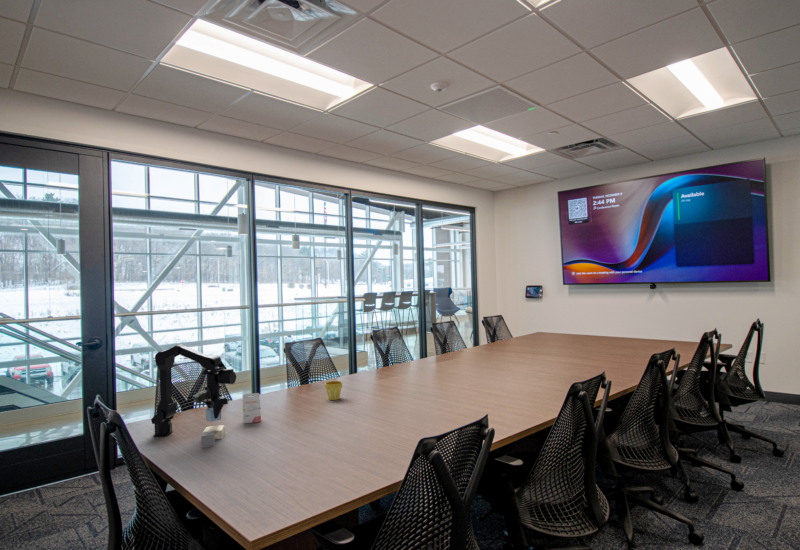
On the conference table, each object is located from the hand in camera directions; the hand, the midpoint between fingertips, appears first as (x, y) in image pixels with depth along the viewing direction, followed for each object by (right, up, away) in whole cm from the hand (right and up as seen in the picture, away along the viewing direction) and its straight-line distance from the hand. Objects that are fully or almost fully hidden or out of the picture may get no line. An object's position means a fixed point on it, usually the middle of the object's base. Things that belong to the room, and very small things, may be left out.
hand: (213, 417), depth 207 cm
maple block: (0, -9, 0) cm, 9 cm away
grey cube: (+2, -9, -11) cm, 14 cm away
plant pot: (+47, -9, +63) cm, 79 cm away
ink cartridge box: (+11, -9, +22) cm, 26 cm away
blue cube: (0, -1, 0) cm, 1 cm away
